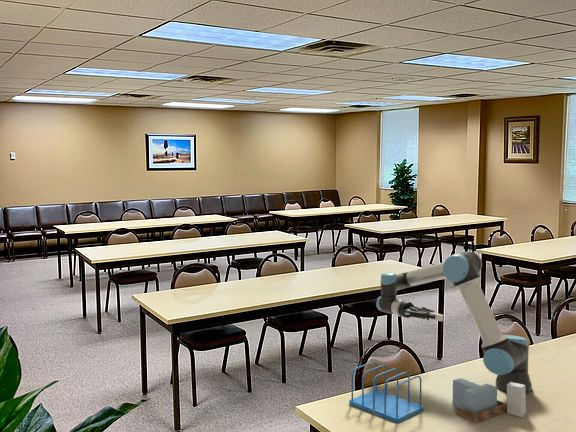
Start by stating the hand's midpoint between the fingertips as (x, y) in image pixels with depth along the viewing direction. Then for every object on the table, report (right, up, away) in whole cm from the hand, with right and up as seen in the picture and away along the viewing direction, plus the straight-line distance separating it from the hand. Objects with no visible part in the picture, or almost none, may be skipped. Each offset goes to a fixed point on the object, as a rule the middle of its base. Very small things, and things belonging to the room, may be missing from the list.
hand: (442, 318), depth 257 cm
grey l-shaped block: (+6, -33, -20) cm, 39 cm away
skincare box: (+22, -34, -26) cm, 48 cm away
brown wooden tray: (+9, -33, -24) cm, 42 cm away
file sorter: (-28, -34, -18) cm, 47 cm away
